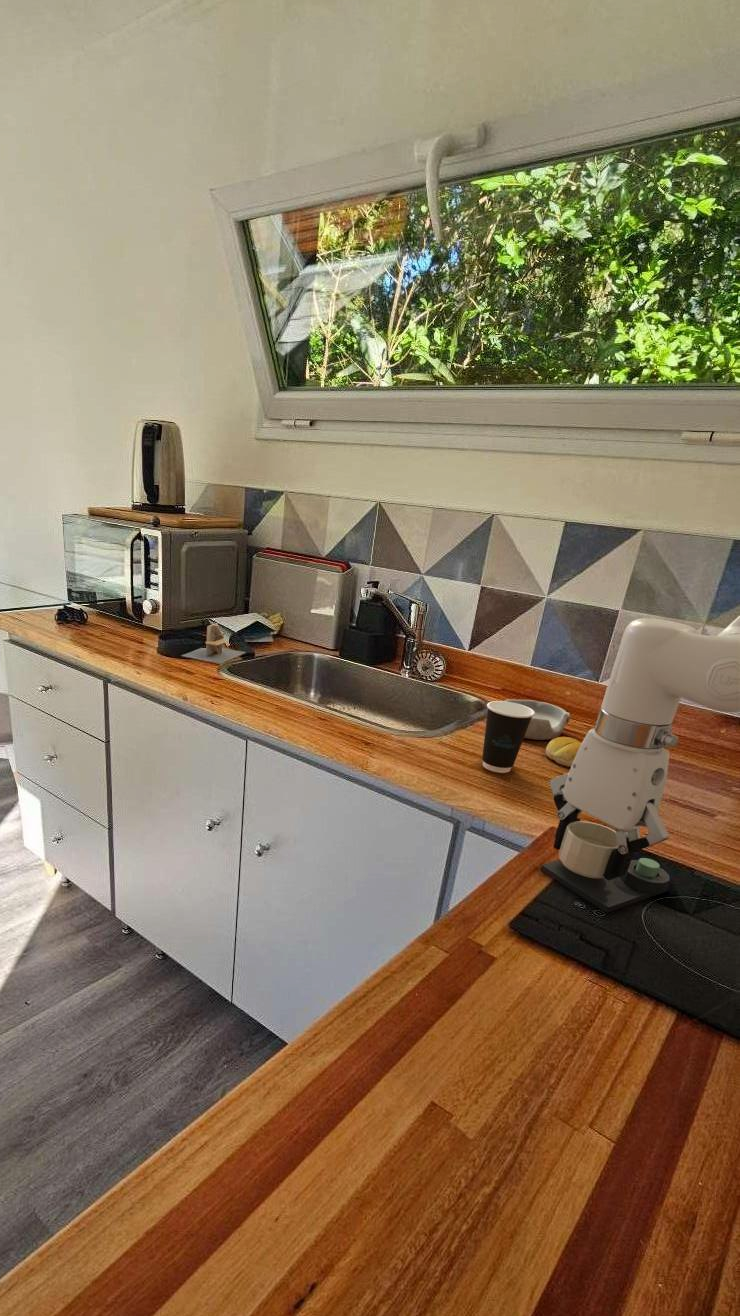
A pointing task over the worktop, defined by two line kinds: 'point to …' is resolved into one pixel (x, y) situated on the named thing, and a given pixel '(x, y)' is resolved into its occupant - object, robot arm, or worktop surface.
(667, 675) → the robot arm
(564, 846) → the bowl
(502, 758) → the dixie cup
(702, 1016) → the worktop surface
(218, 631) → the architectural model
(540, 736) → the dish
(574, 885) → the scale
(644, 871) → the button
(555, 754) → the bread roll
